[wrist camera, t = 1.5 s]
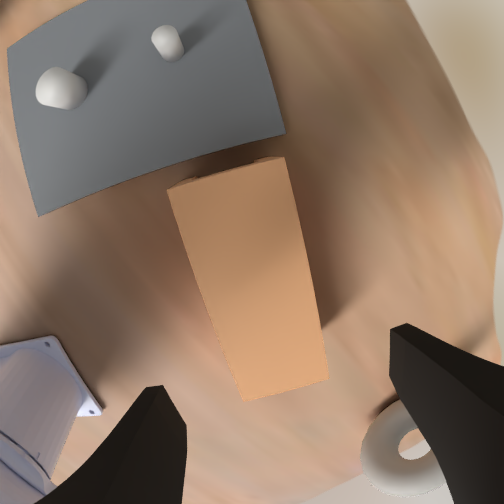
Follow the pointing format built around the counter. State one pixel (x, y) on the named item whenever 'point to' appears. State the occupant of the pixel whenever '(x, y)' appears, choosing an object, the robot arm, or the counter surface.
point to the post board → (135, 92)
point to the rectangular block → (253, 274)
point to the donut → (397, 457)
